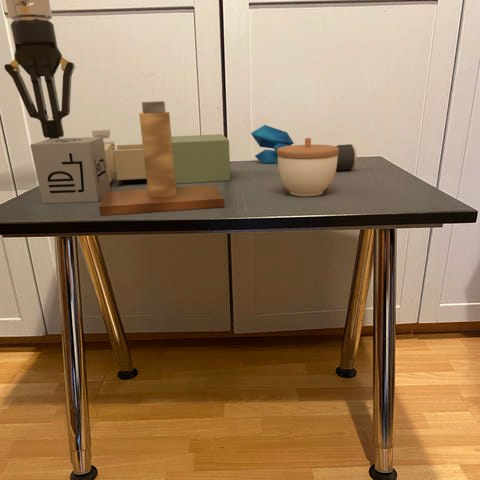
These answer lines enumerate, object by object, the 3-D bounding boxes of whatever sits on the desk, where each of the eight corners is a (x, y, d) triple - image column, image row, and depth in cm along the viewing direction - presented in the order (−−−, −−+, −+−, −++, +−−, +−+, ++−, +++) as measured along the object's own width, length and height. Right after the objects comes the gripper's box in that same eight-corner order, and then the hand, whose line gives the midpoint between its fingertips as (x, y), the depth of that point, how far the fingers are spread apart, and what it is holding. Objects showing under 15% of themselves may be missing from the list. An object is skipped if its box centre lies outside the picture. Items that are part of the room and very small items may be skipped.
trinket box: (278, 200, 83) (279, 142, 79) (275, 188, 92) (275, 136, 88) (341, 198, 83) (344, 140, 78) (331, 186, 92) (333, 134, 88)
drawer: (82, 184, 97) (77, 151, 95) (89, 175, 107) (84, 145, 105) (171, 179, 100) (168, 147, 97) (170, 170, 110) (167, 141, 107)
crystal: (298, 134, 114) (250, 123, 115) (290, 171, 118) (242, 160, 119) (300, 131, 121) (254, 121, 121) (292, 166, 125) (247, 156, 125)
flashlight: (288, 176, 103) (289, 150, 101) (281, 172, 108) (281, 147, 106) (355, 171, 106) (357, 145, 104) (345, 167, 111) (347, 142, 108)
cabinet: (160, 184, 99) (156, 143, 96) (160, 174, 110) (156, 137, 107) (230, 180, 101) (229, 139, 97) (223, 171, 112) (221, 134, 109)
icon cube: (98, 201, 86) (88, 142, 82) (42, 203, 86) (30, 144, 82) (110, 190, 95) (102, 136, 91) (60, 192, 95) (50, 138, 91)
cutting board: (100, 215, 77) (98, 206, 76) (107, 199, 88) (106, 191, 87) (224, 207, 79) (223, 198, 79) (216, 192, 90) (215, 184, 89)
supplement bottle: (96, 171, 118) (89, 128, 113) (118, 170, 118) (113, 127, 114) (94, 175, 113) (87, 130, 108) (117, 173, 114) (111, 129, 109)
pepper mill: (148, 198, 80) (137, 102, 74) (148, 192, 85) (138, 101, 78) (177, 196, 81) (168, 101, 74) (176, 191, 85) (168, 100, 79)
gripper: (-12, 19, 85) (20, 158, 95) (64, 17, 86) (87, 154, 97) (0, 24, 91) (29, 153, 102) (70, 22, 93) (92, 150, 104)
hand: (57, 154), depth 99 cm, fingers closed
